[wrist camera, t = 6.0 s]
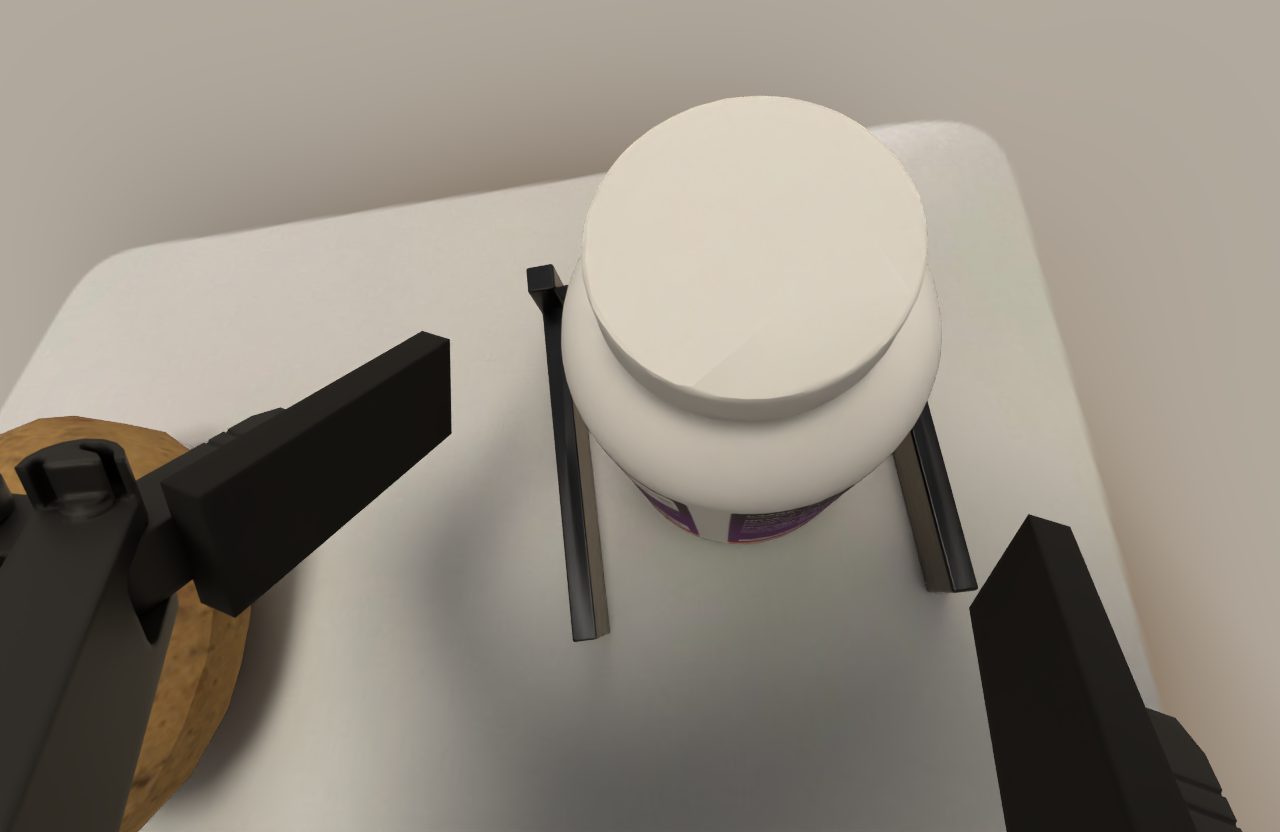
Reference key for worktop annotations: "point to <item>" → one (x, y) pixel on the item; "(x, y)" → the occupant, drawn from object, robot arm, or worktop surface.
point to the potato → (198, 642)
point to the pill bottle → (752, 314)
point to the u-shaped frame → (587, 597)
